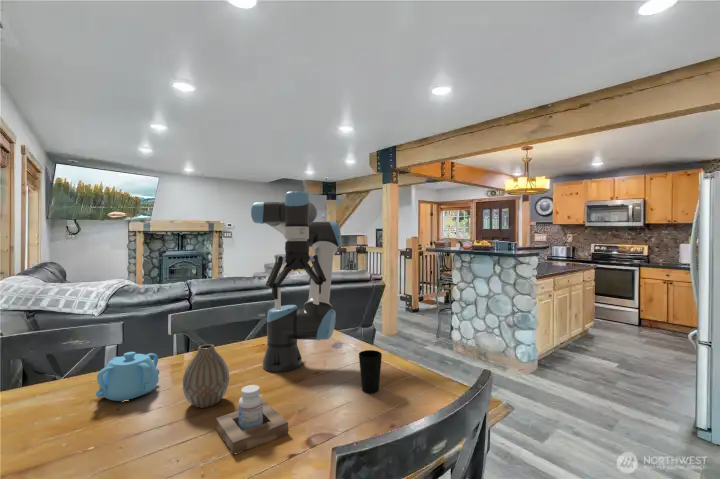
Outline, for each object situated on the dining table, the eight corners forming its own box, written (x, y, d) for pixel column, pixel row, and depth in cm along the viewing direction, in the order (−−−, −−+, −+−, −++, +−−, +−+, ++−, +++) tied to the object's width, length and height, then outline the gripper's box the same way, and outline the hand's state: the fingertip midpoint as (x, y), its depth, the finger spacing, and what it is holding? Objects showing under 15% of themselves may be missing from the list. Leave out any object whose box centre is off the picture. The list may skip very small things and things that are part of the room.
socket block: (215, 429, 90) (215, 417, 90) (266, 412, 99) (266, 401, 99) (233, 455, 79) (233, 442, 79) (288, 433, 88) (288, 422, 88)
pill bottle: (241, 425, 92) (241, 384, 92) (264, 424, 93) (264, 383, 93) (235, 438, 86) (235, 394, 86) (260, 437, 87) (259, 393, 87)
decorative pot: (165, 381, 121) (165, 343, 121) (148, 403, 105) (148, 359, 105) (113, 386, 117) (113, 347, 117) (87, 409, 101) (87, 363, 101)
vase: (238, 396, 109) (238, 342, 109) (207, 417, 97) (207, 355, 96) (205, 390, 113) (205, 338, 113) (172, 409, 101) (172, 350, 101)
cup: (380, 396, 109) (380, 358, 109) (356, 394, 110) (356, 357, 110) (383, 385, 116) (383, 350, 116) (361, 383, 118) (361, 349, 118)
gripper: (264, 240, 98) (265, 314, 98) (336, 240, 113) (336, 303, 114) (254, 240, 104) (255, 310, 104) (324, 239, 119) (324, 300, 119)
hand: (297, 306), depth 109 cm, fingers open, 13 cm apart
